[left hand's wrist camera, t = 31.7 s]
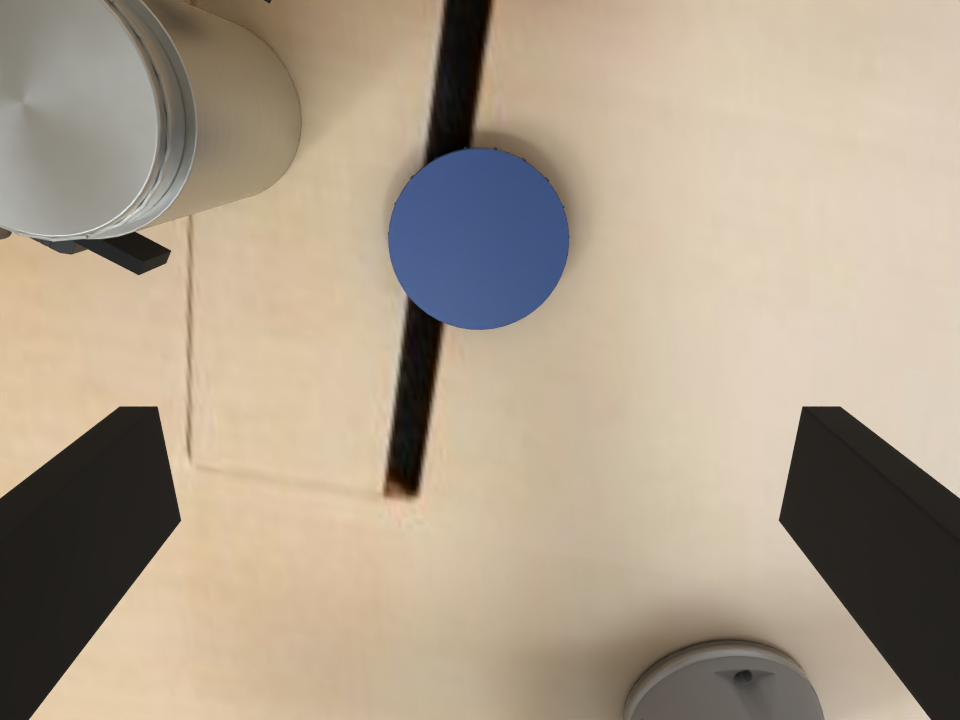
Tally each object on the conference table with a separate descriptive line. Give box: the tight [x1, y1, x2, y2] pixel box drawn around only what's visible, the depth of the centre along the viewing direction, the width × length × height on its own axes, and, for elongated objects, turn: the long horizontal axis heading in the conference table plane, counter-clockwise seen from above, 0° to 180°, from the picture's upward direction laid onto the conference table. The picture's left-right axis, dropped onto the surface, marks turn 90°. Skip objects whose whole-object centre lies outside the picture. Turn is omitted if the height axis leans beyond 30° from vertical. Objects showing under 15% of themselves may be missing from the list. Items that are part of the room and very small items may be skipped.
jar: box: [0, 0, 301, 242], centre depth 26 cm, size 9×9×15 cm
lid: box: [388, 147, 569, 330], centre depth 35 cm, size 10×10×2 cm
